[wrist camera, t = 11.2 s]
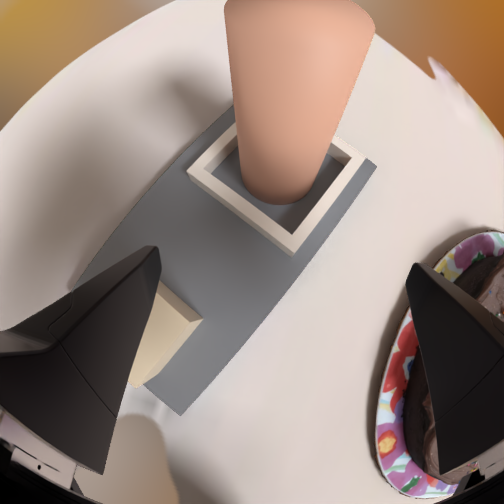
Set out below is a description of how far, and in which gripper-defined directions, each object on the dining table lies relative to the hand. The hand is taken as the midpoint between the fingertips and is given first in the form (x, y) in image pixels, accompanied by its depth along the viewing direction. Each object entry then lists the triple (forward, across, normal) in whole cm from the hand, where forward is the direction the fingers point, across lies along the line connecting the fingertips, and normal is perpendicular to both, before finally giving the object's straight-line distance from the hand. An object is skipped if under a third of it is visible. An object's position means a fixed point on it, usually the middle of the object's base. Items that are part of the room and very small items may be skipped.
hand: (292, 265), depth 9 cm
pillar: (+12, 0, +1) cm, 12 cm away
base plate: (+10, +4, +5) cm, 12 cm away
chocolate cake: (+2, -22, +14) cm, 26 cm away
